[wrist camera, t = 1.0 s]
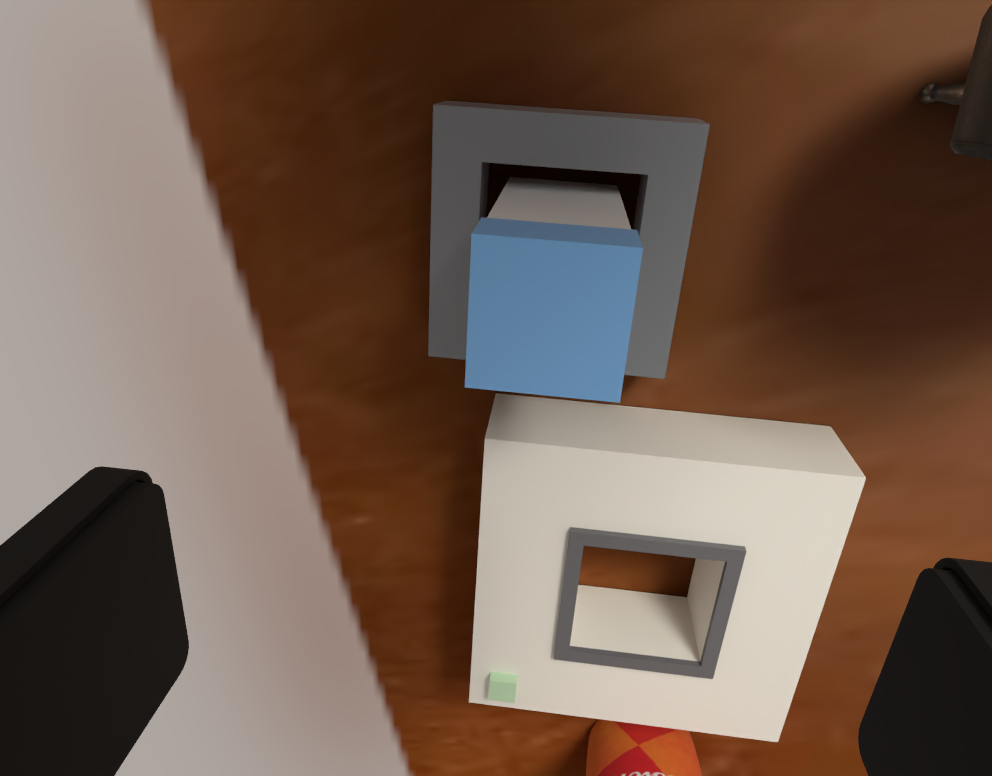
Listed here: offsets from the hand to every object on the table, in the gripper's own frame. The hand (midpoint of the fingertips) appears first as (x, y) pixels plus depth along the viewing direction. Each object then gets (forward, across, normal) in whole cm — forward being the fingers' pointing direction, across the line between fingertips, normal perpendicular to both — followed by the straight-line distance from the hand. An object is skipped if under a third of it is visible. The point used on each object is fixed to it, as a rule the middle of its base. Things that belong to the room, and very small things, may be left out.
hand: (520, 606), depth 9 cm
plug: (+20, 0, 0) cm, 20 cm away
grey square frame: (+20, 0, 0) cm, 20 cm away
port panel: (+20, -5, +14) cm, 25 cm away
